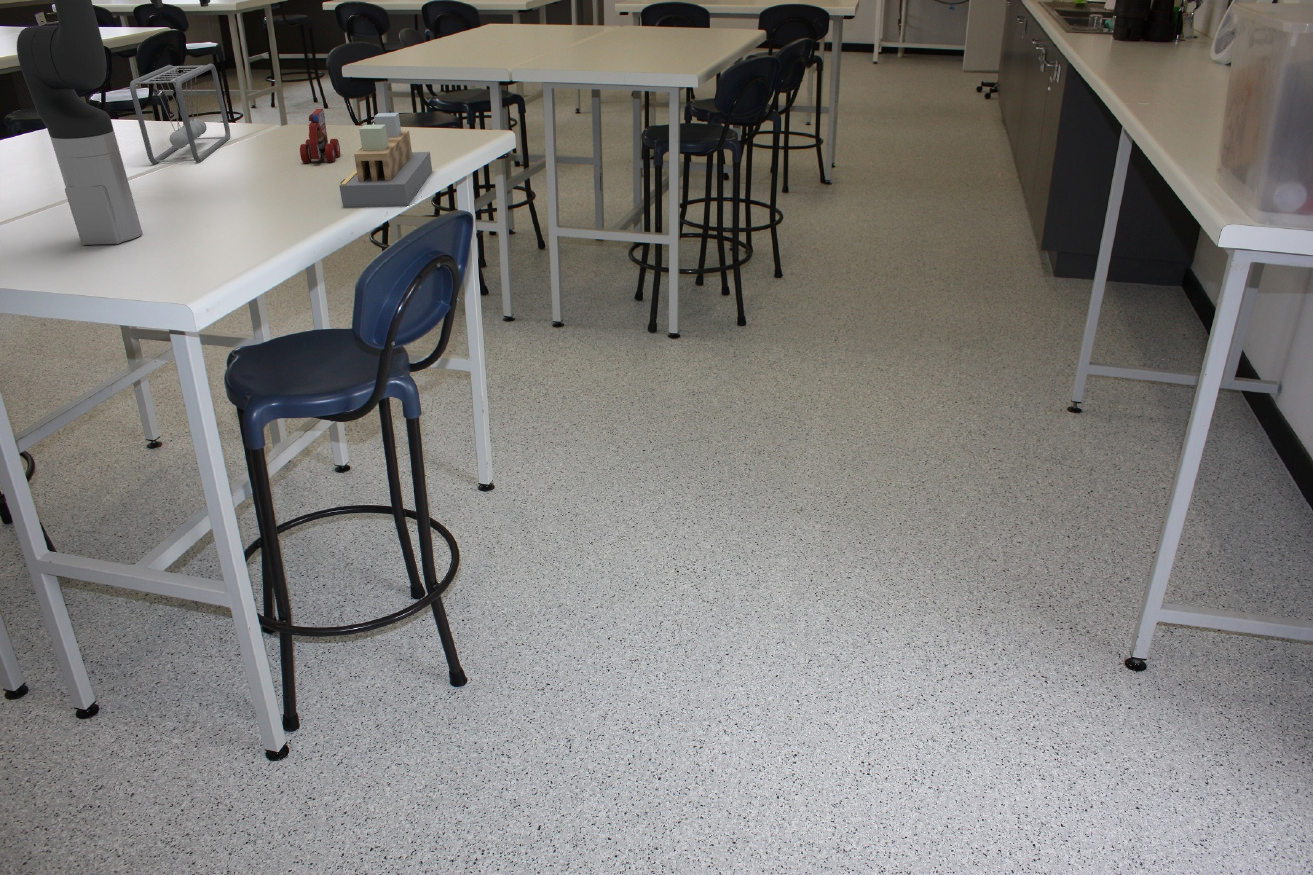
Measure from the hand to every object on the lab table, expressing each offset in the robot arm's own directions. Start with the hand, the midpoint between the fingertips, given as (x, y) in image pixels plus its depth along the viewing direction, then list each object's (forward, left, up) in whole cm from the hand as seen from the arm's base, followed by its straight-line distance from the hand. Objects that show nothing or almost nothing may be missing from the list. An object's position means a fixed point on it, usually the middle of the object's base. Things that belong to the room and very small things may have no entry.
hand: (182, 7), depth 179 cm
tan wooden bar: (-8, -36, -29) cm, 47 cm away
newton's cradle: (+33, +19, -33) cm, 51 cm away
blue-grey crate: (-2, -36, -24) cm, 43 cm away
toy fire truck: (+20, -15, -33) cm, 42 cm away
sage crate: (-14, -36, -24) cm, 45 cm away
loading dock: (-8, -36, -33) cm, 49 cm away
